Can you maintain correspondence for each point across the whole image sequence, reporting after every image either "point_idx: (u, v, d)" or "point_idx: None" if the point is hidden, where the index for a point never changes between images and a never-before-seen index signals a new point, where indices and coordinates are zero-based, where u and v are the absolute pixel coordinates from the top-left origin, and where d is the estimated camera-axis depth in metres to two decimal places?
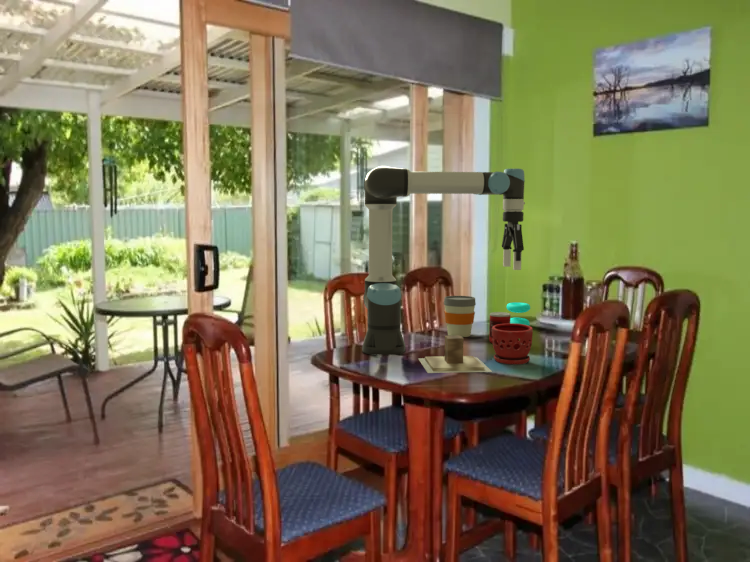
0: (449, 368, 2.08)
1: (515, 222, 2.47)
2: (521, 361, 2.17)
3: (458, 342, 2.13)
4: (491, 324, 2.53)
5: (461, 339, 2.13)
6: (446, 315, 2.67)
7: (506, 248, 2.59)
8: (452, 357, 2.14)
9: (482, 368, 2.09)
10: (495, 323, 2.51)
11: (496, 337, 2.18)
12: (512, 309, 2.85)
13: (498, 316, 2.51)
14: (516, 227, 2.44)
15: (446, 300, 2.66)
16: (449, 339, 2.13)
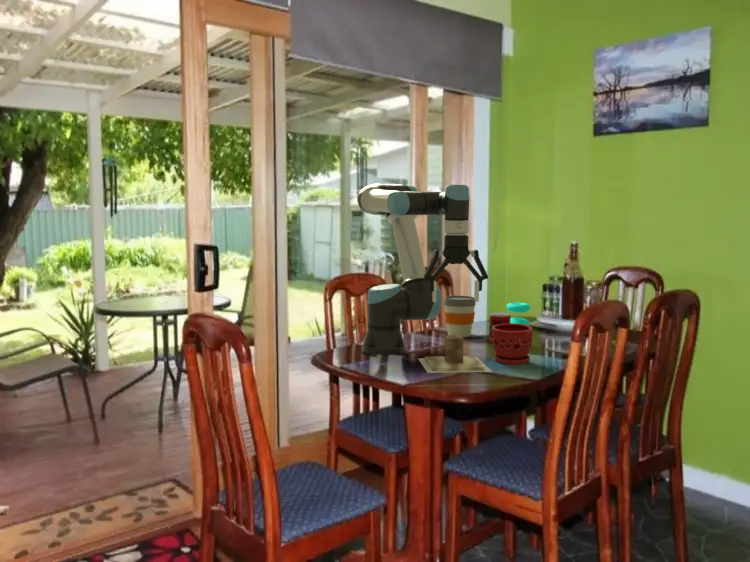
0: (449, 368, 2.08)
1: (444, 247, 2.13)
2: (521, 361, 2.17)
3: (458, 342, 2.13)
4: (491, 324, 2.53)
5: (461, 339, 2.13)
6: (446, 315, 2.67)
7: (477, 279, 2.15)
8: (452, 357, 2.14)
9: (482, 368, 2.09)
10: (495, 323, 2.51)
11: (496, 337, 2.18)
12: (512, 309, 2.85)
13: (498, 316, 2.51)
14: (434, 253, 2.13)
15: (446, 300, 2.66)
16: (449, 339, 2.13)
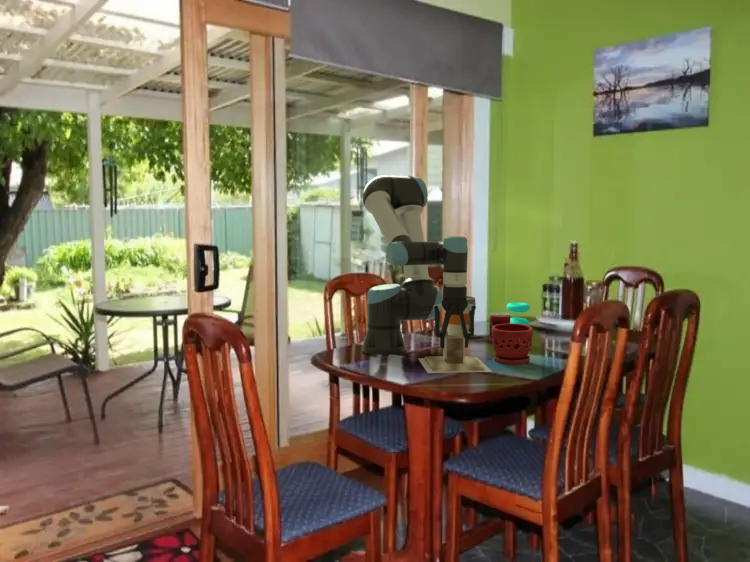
0: (449, 368, 2.08)
1: None
2: (521, 361, 2.17)
3: (458, 342, 2.13)
4: (491, 324, 2.53)
5: (461, 339, 2.13)
6: None
7: (463, 336, 2.16)
8: (452, 357, 2.14)
9: (482, 368, 2.09)
10: (495, 323, 2.51)
11: (496, 337, 2.18)
12: (512, 309, 2.85)
13: (498, 316, 2.51)
14: (434, 309, 2.15)
15: None
16: (449, 339, 2.13)
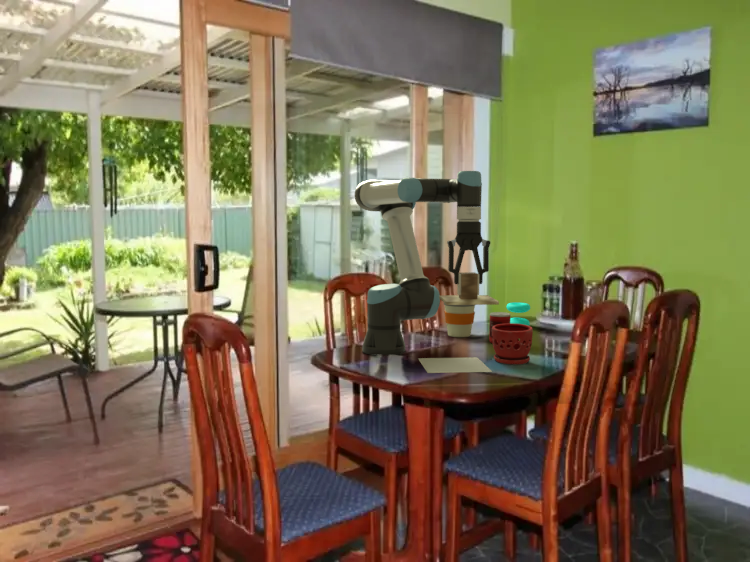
0: (463, 302, 2.07)
1: None
2: (521, 361, 2.17)
3: (472, 277, 2.12)
4: (491, 324, 2.53)
5: (475, 274, 2.12)
6: (446, 315, 2.67)
7: (478, 272, 2.15)
8: (466, 293, 2.12)
9: (496, 302, 2.07)
10: (495, 323, 2.51)
11: (496, 337, 2.18)
12: (512, 309, 2.85)
13: (498, 316, 2.51)
14: (448, 244, 2.14)
15: None
16: (463, 274, 2.12)
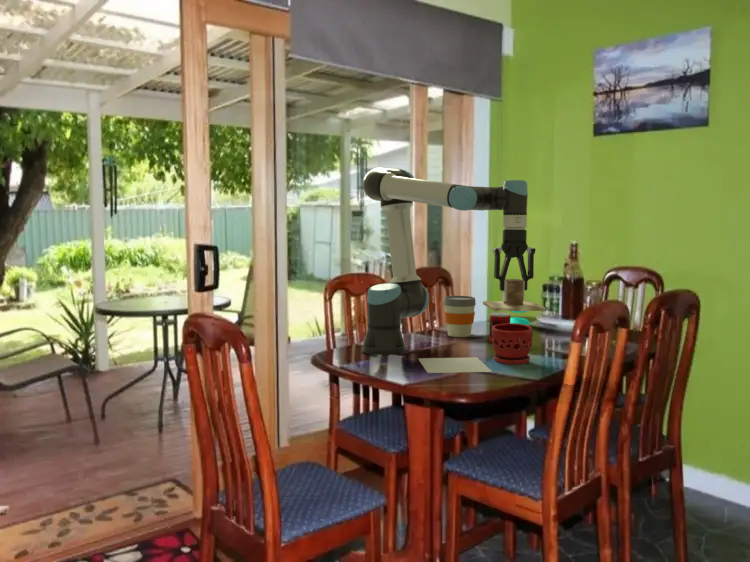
0: (511, 308, 2.12)
1: None
2: (521, 361, 2.17)
3: (518, 284, 2.17)
4: (491, 324, 2.53)
5: (521, 281, 2.17)
6: (446, 315, 2.67)
7: (523, 279, 2.20)
8: (512, 299, 2.17)
9: (543, 308, 2.13)
10: (495, 323, 2.51)
11: (496, 337, 2.18)
12: None
13: (498, 316, 2.51)
14: (494, 252, 2.18)
15: (446, 300, 2.66)
16: (509, 281, 2.17)
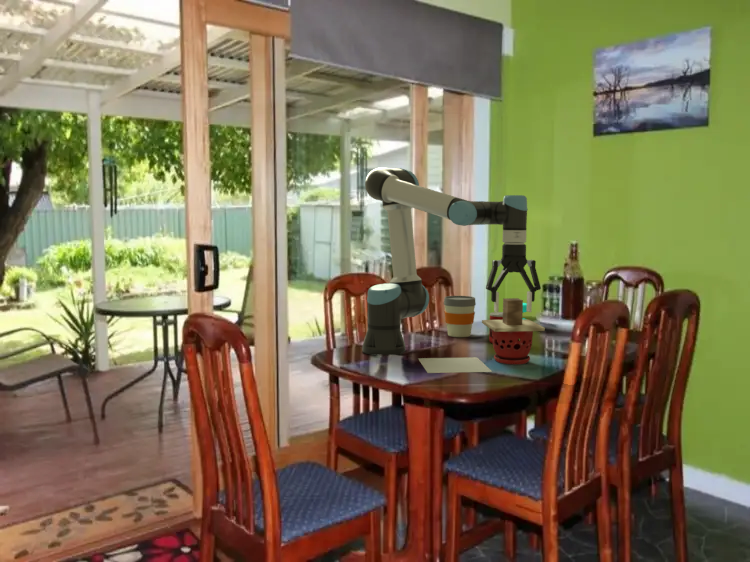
0: (510, 329, 2.13)
1: (502, 256, 2.18)
2: (521, 361, 2.17)
3: (517, 304, 2.18)
4: None
5: (520, 301, 2.18)
6: (446, 315, 2.67)
7: (530, 290, 2.20)
8: (512, 319, 2.18)
9: (542, 329, 2.14)
10: None
11: (496, 337, 2.18)
12: None
13: (498, 316, 2.51)
14: (492, 263, 2.19)
15: (446, 300, 2.66)
16: (509, 301, 2.17)
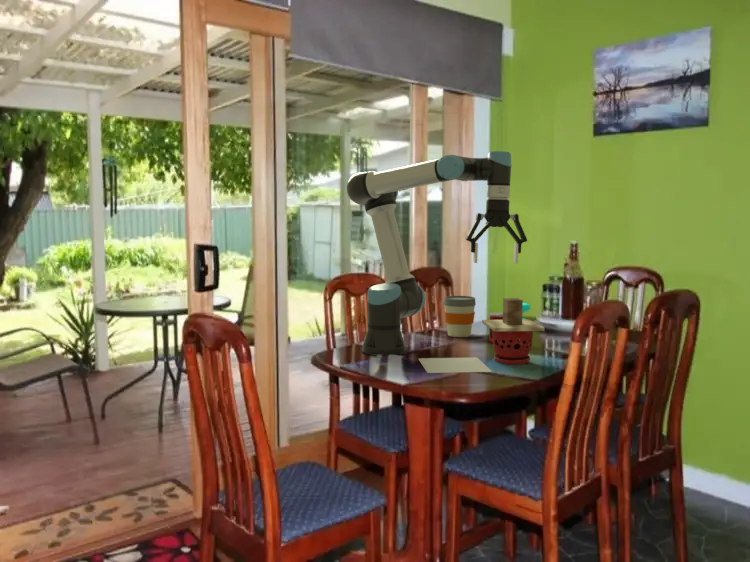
0: (510, 328, 2.13)
1: (486, 211, 2.25)
2: (521, 361, 2.17)
3: (517, 304, 2.18)
4: None
5: (520, 301, 2.18)
6: (446, 315, 2.67)
7: (517, 242, 2.27)
8: (511, 319, 2.18)
9: (542, 329, 2.14)
10: None
11: (496, 337, 2.18)
12: None
13: (498, 316, 2.51)
14: (476, 216, 2.25)
15: (446, 300, 2.66)
16: (509, 301, 2.17)
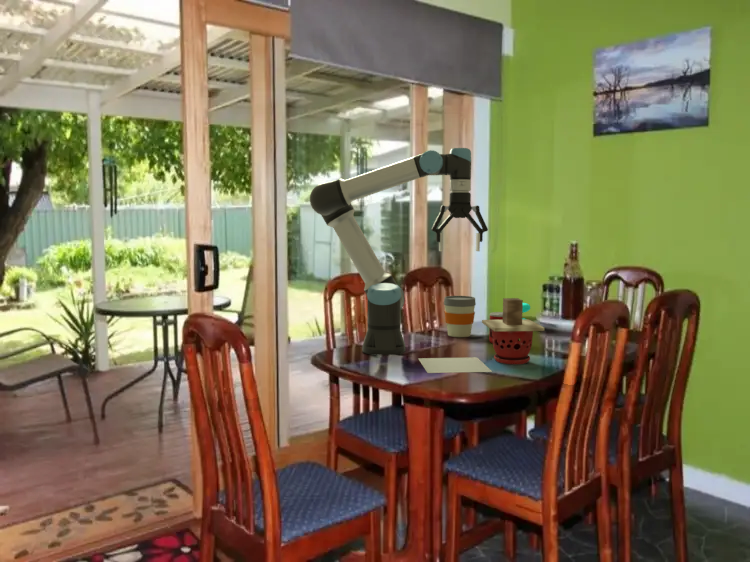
0: (510, 328, 2.13)
1: (449, 203, 2.43)
2: (521, 361, 2.17)
3: (517, 304, 2.18)
4: None
5: (520, 301, 2.18)
6: (446, 315, 2.67)
7: (478, 231, 2.45)
8: (511, 319, 2.18)
9: (542, 328, 2.14)
10: None
11: (496, 337, 2.18)
12: None
13: (498, 316, 2.51)
14: (440, 208, 2.44)
15: (446, 300, 2.66)
16: (509, 301, 2.18)
